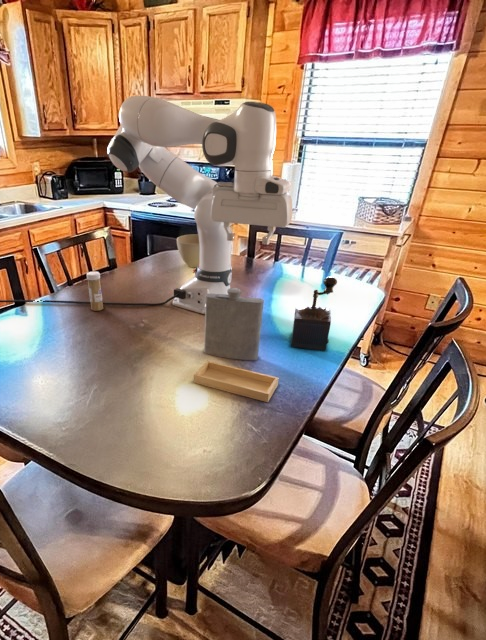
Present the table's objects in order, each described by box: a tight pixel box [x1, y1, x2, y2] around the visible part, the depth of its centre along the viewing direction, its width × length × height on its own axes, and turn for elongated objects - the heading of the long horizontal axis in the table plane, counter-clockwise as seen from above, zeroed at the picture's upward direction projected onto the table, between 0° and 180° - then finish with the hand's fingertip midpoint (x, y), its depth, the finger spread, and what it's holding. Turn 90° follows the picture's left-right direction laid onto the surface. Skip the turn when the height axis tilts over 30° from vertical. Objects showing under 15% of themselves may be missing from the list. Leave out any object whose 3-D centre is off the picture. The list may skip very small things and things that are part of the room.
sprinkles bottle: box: [86, 270, 104, 312], centre depth 149 cm, size 5×5×14 cm
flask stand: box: [193, 360, 280, 403], centre depth 107 cm, size 20×9×2 cm, turn 62°
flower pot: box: [176, 233, 200, 268], centre depth 194 cm, size 18×18×12 cm
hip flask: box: [203, 287, 265, 361], centre depth 116 cm, size 16×4×20 cm, turn 71°
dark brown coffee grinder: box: [290, 276, 338, 351], centre depth 125 cm, size 16×11×18 cm
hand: (247, 242), depth 107 cm, fingers open, 8 cm apart
